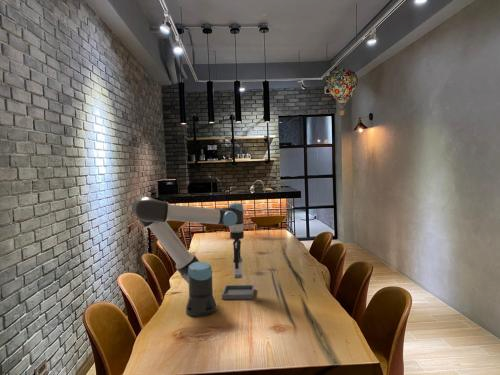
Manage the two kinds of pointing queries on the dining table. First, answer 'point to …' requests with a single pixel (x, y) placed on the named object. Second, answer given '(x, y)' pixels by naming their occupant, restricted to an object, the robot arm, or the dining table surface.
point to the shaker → (240, 270)
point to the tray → (238, 292)
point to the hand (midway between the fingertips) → (237, 272)
